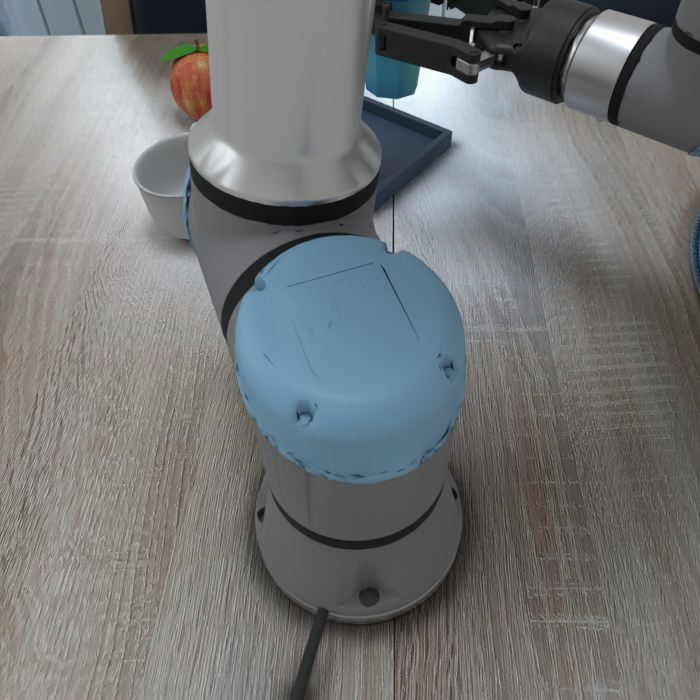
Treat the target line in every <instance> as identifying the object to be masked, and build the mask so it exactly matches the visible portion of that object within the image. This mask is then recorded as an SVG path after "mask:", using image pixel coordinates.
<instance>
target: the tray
mask: <svg viewBox="0 0 700 700" xmlns="http://www.w3.org/2000/svg"><path fill="white" fill-rule="evenodd" d="M361 119H362V120H363V121H364V123H365V124H366V125H367V126H368V127H369V128H370V129H371V130H372V131H373V132H374V134H375V135H376V137H377V139H378V141H379V143H380V146H381V151H382V154H381V165H380V172H379V178H378V186H377V192H376V199H375V205H374V212H375V211H376V210H378V209H379V207H381V206H382V205H383V204H385V202H387V201H388V200H389V199H390V198H391V197H393V196H394V195H395V194H396V193H397V192H399V191H400V190H401V189H402V188H403V187H404V186H406V185H407V184H408V183H410V181H412V180H413V179H414V178H415V177H417V176H418V175H419V174H420V173H421V172H422V171H424V170H425V169H426V168H427V167H428V166H429V165H430V164H432V163H433V162H434V161H435V160H437V159H438V158H439V157H440V156H442V155H443V154H444V153H445V152H446V151H447V150H448V149H449V148H451V147H452V139H453V130H451V129H449V128H446V127H443V126H441V125H439V124H436V123H433V122H431V121H428V120H426V119H424V118H421V117H420V116H419V117H418V116H416V115H413V114H411V113H408V112H406V111H403V110H401V109H398V108H396V107H394V106H392V105H389V104H386V103H384V102H381V101H379V100H376V99H374V98H371V97H369V96H367V95H364V98H363V106H362V114H361Z"/></svg>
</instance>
